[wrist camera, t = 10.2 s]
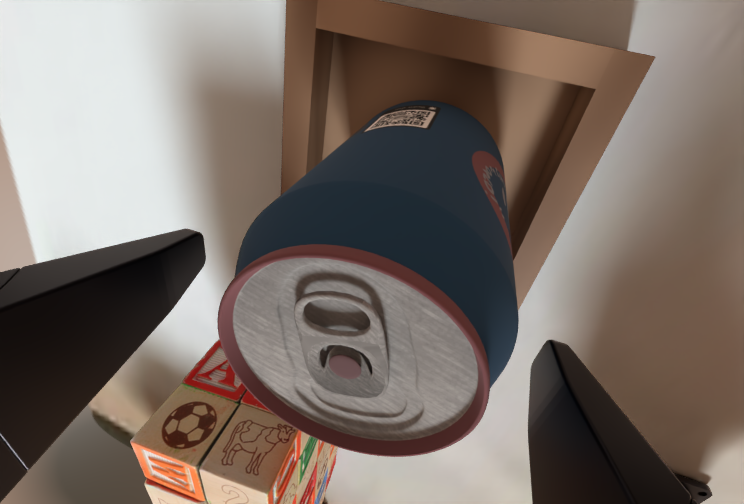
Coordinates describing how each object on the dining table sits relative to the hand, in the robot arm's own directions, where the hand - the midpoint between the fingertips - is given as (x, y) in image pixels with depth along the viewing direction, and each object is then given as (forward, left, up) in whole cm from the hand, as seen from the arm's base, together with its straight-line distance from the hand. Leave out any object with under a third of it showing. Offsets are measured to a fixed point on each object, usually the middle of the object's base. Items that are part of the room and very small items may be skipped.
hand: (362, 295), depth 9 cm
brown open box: (0, 0, -11) cm, 11 cm away
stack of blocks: (+4, +21, -11) cm, 24 cm away
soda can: (0, 0, -10) cm, 10 cm away
